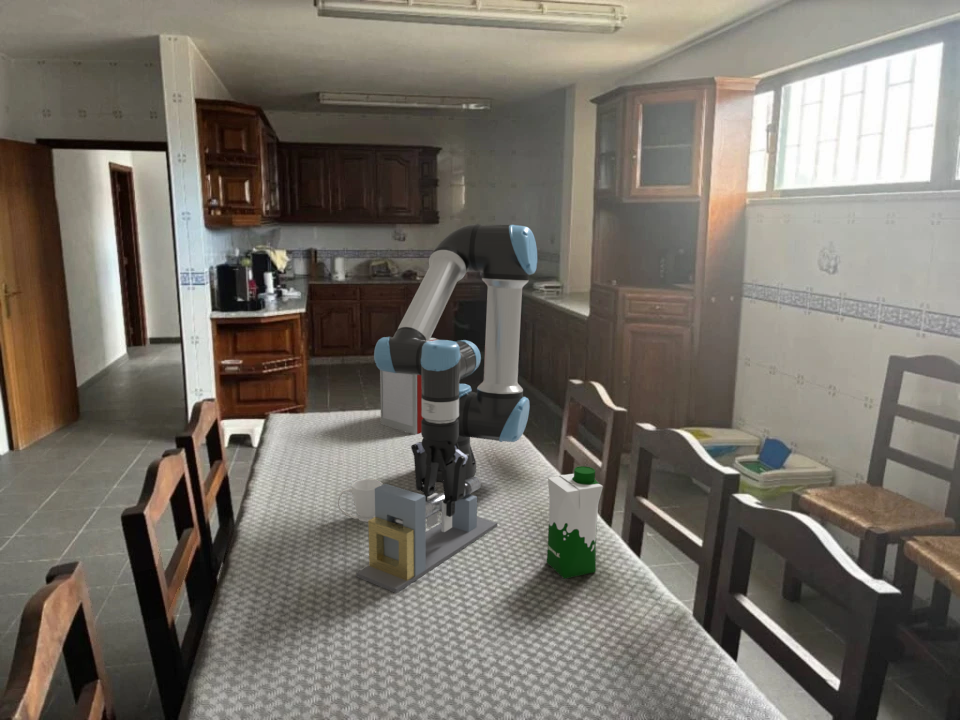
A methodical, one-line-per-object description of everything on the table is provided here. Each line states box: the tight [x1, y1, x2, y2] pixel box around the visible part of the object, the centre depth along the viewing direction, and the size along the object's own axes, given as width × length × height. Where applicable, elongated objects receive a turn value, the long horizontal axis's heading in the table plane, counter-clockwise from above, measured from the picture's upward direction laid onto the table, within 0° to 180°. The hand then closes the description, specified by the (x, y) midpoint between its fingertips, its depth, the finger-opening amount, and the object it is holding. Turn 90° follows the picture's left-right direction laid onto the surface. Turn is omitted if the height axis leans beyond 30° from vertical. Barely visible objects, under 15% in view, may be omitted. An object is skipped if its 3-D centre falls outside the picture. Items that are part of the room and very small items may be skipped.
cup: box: [337, 478, 383, 523], centre depth 158 cm, size 7×10×8 cm
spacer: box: [367, 517, 414, 581], centre depth 134 cm, size 2×10×10 cm, turn 56°
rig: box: [355, 483, 498, 594], centre depth 143 cm, size 34×10×16 cm, turn 146°
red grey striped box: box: [379, 337, 439, 435], centre depth 226 cm, size 16×18×27 cm
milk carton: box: [546, 465, 604, 580], centre depth 137 cm, size 9×9×20 cm
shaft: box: [392, 475, 481, 526], centre depth 145 cm, size 26×3×3 cm, turn 146°
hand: (439, 526), depth 146 cm, fingers closed on shaft, 3 cm apart
